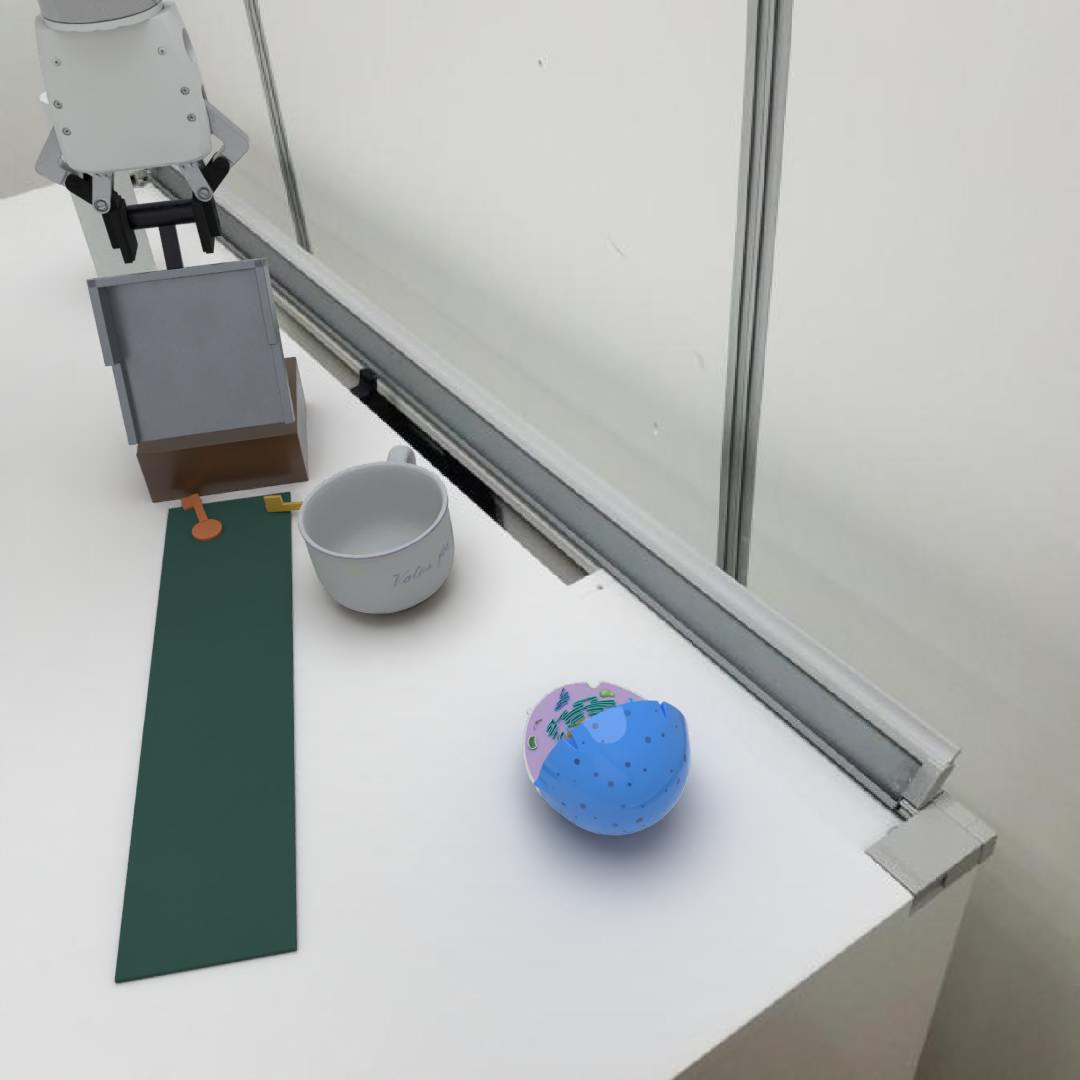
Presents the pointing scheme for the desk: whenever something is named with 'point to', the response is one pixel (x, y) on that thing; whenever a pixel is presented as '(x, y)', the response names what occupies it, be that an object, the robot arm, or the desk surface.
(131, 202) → the paper towel roll
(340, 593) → the teacup
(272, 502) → the brass key
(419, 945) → the desk surface
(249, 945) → the mat
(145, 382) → the grey letter tray
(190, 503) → the copper key
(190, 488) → the stand
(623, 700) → the cell model
